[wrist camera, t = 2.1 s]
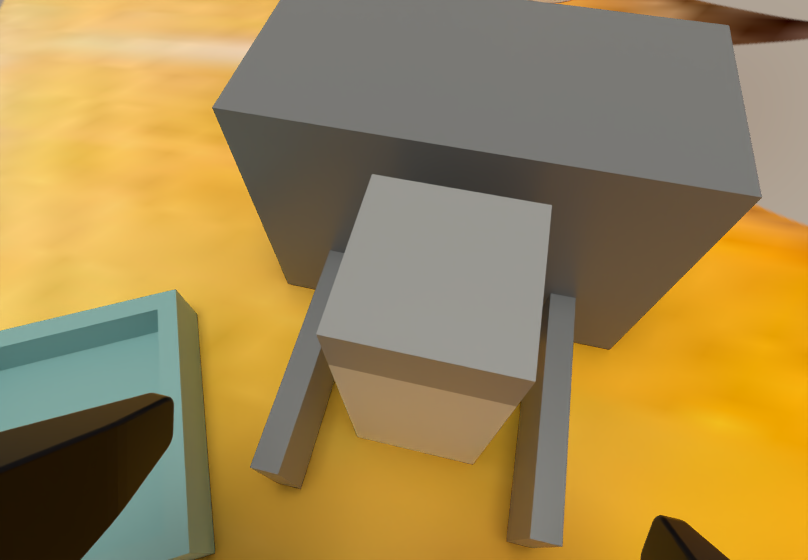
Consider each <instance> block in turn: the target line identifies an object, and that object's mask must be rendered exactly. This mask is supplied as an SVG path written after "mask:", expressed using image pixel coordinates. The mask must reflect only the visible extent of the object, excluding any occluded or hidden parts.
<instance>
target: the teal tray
mask: <svg viewBox="0 0 808 560" xmlns="http://www.w3.org/2000/svg"><path fill="white" fill-rule="evenodd" d="M147 393H157V394H161V395H165V396H169V397H171V398H172V399H173V402H174V427H173V438H172V441H171V443H170V445H169V447H168V449H167V450H166V451H165V453H164V454H163V456H162V457H161V458H160V460H159V461H158V462H157V464H156V465H155V467H154V468H153V469H152V471H151V472H150V474H149V475H148V476H147V478H146V479H145V481H144V482H143V483H142V485H141V486H140V487H139V489H138V490H137V492H136V493H135V494H134V496H133V497H132V499H131V500H130V501H129V503H128V504H127V505H126V507H125V508H124V509H123V511H122V512H121V513H120V515H119V516H118V517H117V518H116V520H115V521H114V522H113V523H112V524H111V526H110V527H109V528H108V529H107V530H106V531H105V533H104V534H103V535H102V536H101V537H100V538H99V539H98V541H97V542H96V543H95V544H94V545H93V546H92V547H91V549H90V550H89V551H88V552H87V553H86V554H85V556H84V557H83V558H82V559H81V560H195V559H198V558H201V557H204V556H208V555H211V554H214V553H215V545H214V532H213V519H212V506H211V493H210V480H209V466H208V453H207V440H206V427H205V414H204V401H203V388H202V374H201V361H200V348H199V335H198V322H197V314H196V312H195V311H194V310H193V309H192V308H191V307H190V305H189V304H188V303H187V302H186V301H185V300H184V299H183V297H182V296H181V295H180V294H179V293H178V292H177V290H176V289H175V290H171V291H167V292H163V293H158V294H154V295H150V296H146V297H141V298H137V299H133V300H129V301H124V302H120V303H116V304H112V305H108V306H103V307H99V308H95V309H91V310H86V311H82V312H78V313H74V314H69V315H65V316H61V317H57V318H53V319H48V320H44V321H40V322H36V323H31V324H27V325H23V326H19V327H14V328H10V329H6V330H2V331H0V432H1V431H5V430H9V429H13V428H17V427H20V426H24V425H28V424H32V423H36V422H40V421H43V420H47V419H51V418H55V417H59V416H63V415H66V414H70V413H74V412H78V411H82V410H86V409H89V408H93V407H97V406H101V405H105V404H109V403H113V402H116V401H120V400H124V399H128V398H132V397H136V396H139V395H143V394H147Z"/></svg>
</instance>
